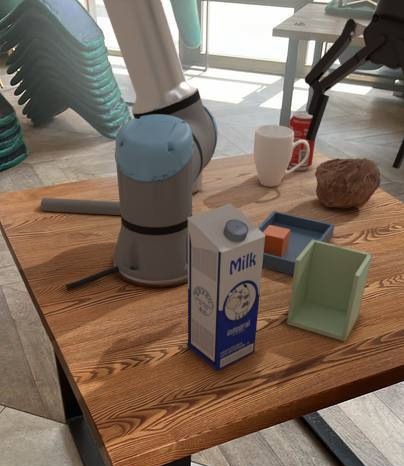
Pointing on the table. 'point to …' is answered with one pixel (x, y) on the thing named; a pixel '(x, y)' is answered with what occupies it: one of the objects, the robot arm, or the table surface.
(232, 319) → the milk carton
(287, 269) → the tray
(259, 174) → the mug
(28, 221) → the table surface
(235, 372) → the table surface
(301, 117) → the beverage can
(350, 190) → the decorative rock
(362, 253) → the box
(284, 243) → the block
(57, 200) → the half round rod
